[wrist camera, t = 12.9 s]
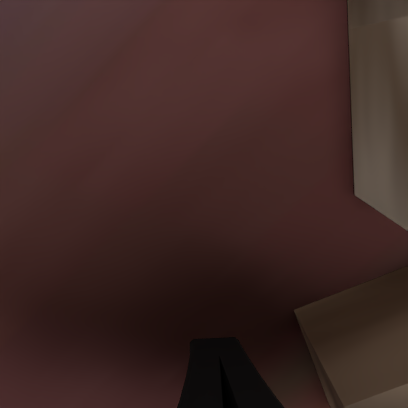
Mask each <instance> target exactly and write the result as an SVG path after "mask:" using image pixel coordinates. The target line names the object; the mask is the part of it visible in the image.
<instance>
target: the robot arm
mask: <svg viewBox="0 0 408 408" xmlns="http://www.w3.org/2000/svg"><path fill="white" fill-rule="evenodd" d="M177 408H284V407H283V405H282V404H281V403H280V402H279V400H278V399H277V398H276V396H275V395H274V394H273V392H272V391H271V390H270V388H269V387H268V385H267V384H266V383H265V381H264V380H263V379H262V377H261V376H260V374H259V373H258V371H257V370H256V368H255V367H254V365H253V364H252V362H251V361H250V359H249V358H248V356H247V354H246V353H245V351H244V349H243V348H242V346H241V344H240V342H239V340H238V339H236V338H235V337H229V338H206V339H193V340H192V341H191V342H190V358H189V365H188V370H187V375H186V379H185V383H184V386H183V390H182V394H181V397H180V401H179V404H178V407H177Z"/></svg>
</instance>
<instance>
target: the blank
mask: <svg viewBox="0 0 408 408" xmlns="http://www.w3.org/2000/svg"><path fill="white" fill-rule="evenodd" d="M294 312H295V315H296V317H297V320H298V323H299V325H300V328H301V331H302V333H303V336H304V339H305V341H306V344H307V347H308V349H309V352H310V355H311V357H312V360H313V363H314V365H315V368H316V371H317V373H318V376H319V379H320V381H321V384H322V387H323V390H324V392H325V395H326V398H327V400H328V403H329V405H330V407H331V408H408V266H406V267H404V268H401V269H399V270H396V271H393V272H391V273H388V274H386V275H383V276H380V277H378V278H375V279H373V280H370V281H367V282H365V283H362V284H360V285H357V286H354V287H352V288H349V289H347V290H344V291H341V292H339V293H336V294H334V295H331V296H329V297H326V298H323V299H321V300H318V301H316V302H313V303H310V304H308V305H305V306H303V307H300V308H297V309H295V310H294Z"/></svg>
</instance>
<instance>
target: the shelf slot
mask: <svg viewBox="0 0 408 408" xmlns="http://www.w3.org/2000/svg"><path fill="white" fill-rule="evenodd" d="M347 4H348V31H349V58H350V86H351V113H352V140H353V168H354V195H355V196H357V197H358V198H360V199H361V200H363V201H364V202H366V203H367V204H369V205H370V206H371V207H373V208H374V209H376V210H377V211H379V212H380V213H382V214H383V215H385V216H386V217H388V218H389V219H391V220H392V221H394V222H395V223H397V224H398V225H400V226H401V227H403V228H404V229H406V230H407V231H408V0H347Z"/></svg>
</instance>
